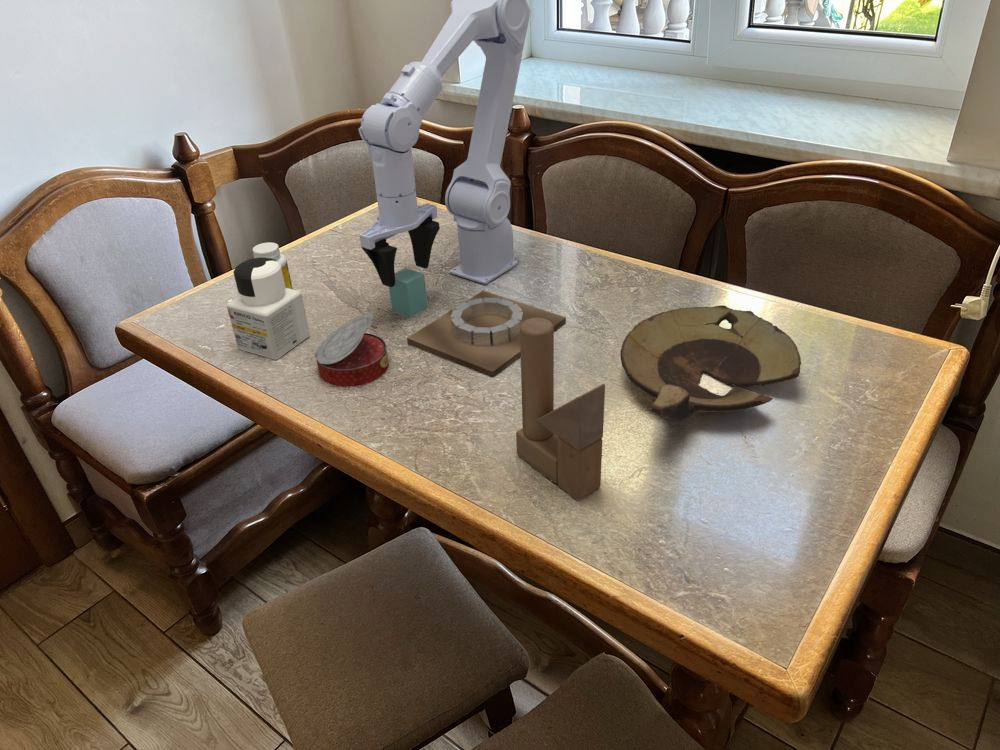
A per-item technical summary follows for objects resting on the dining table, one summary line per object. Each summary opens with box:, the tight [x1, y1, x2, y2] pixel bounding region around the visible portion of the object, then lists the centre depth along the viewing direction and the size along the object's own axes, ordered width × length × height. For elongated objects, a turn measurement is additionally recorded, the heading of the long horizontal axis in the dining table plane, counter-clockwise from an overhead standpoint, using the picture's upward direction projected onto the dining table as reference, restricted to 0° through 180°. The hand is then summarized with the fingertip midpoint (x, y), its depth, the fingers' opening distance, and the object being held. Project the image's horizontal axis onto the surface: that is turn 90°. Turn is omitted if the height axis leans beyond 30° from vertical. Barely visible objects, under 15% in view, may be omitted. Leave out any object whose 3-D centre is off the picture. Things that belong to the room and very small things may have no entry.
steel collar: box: [450, 298, 523, 346], centre depth 114 cm, size 10×10×2 cm
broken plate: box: [620, 304, 802, 422], centre depth 100 cm, size 22×30×8 cm
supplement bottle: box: [252, 242, 294, 290], centre depth 123 cm, size 6×6×10 cm
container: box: [226, 257, 311, 361], centre depth 112 cm, size 8×8×13 cm
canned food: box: [314, 311, 390, 388], centre depth 107 cm, size 11×10×10 cm
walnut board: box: [406, 289, 567, 379], centre depth 115 cm, size 18×16×1 cm
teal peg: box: [388, 267, 428, 319], centre depth 121 cm, size 4×4×6 cm
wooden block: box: [515, 318, 606, 501], centre depth 84 cm, size 4×11×18 cm, turn 39°
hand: (405, 275), depth 119 cm, fingers open, 7 cm apart
